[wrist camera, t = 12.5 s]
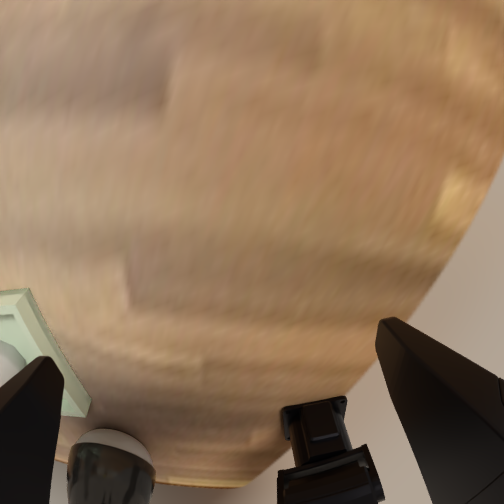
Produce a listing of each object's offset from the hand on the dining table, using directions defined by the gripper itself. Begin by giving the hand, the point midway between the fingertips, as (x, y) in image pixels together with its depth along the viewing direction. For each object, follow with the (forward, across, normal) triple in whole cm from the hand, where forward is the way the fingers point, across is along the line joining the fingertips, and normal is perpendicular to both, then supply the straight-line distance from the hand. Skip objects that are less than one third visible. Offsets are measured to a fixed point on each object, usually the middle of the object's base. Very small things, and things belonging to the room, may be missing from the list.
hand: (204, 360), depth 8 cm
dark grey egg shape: (+13, +17, +26) cm, 34 cm away
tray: (+13, +23, +11) cm, 29 cm away
